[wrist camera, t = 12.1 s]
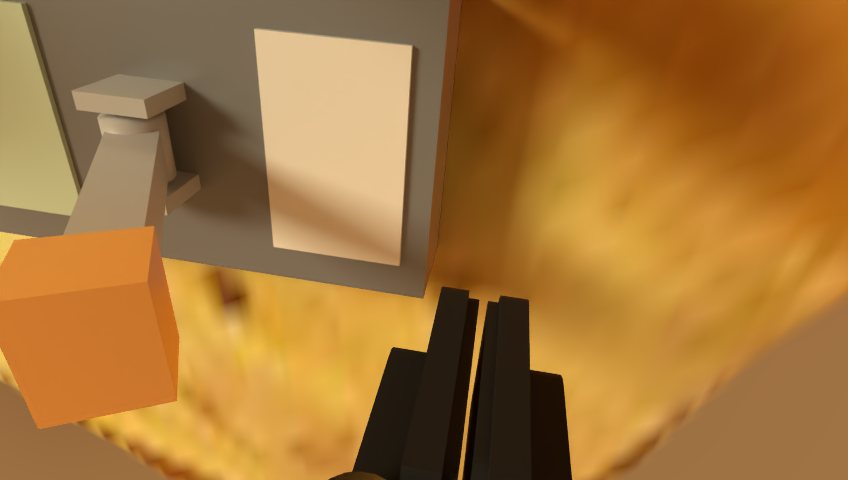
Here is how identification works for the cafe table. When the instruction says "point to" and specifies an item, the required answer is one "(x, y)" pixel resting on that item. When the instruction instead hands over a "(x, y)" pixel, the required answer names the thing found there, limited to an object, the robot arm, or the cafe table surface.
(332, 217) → the switch box
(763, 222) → the cafe table surface
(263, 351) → the cafe table surface
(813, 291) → the cafe table surface
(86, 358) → the lever
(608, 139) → the cafe table surface
